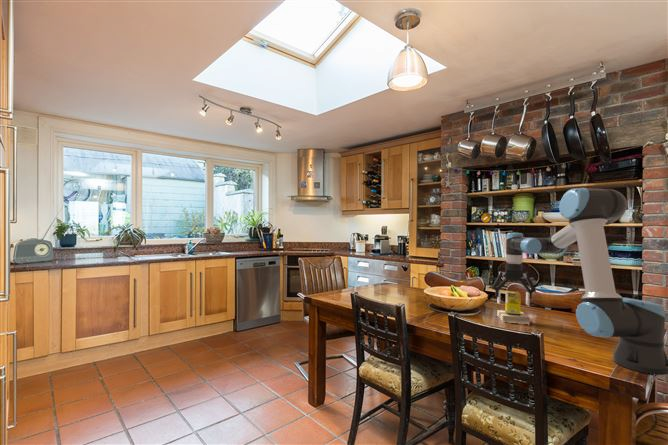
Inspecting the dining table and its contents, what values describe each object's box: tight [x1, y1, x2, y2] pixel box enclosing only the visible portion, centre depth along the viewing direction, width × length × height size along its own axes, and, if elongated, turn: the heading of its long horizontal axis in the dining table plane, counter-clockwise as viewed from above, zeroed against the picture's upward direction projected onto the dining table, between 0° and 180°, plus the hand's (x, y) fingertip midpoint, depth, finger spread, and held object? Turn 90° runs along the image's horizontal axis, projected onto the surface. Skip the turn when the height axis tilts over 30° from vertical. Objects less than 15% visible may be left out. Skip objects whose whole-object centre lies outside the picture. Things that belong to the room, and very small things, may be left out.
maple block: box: [496, 309, 531, 326], centre depth 175 cm, size 12×12×4 cm
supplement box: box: [504, 290, 522, 316], centre depth 174 cm, size 6×6×11 cm
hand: (512, 304), depth 175 cm, fingers open, 13 cm apart
